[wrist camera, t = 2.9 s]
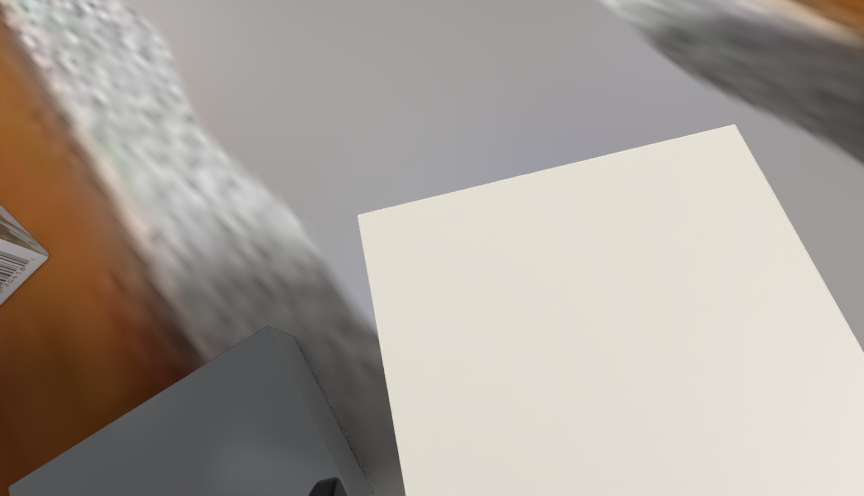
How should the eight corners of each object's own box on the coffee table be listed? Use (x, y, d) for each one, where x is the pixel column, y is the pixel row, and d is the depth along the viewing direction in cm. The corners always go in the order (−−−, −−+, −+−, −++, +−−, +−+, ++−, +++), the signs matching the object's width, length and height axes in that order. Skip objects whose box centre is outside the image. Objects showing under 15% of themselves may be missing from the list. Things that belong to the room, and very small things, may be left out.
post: (606, 457, 16) (992, 582, 4) (470, 488, 16) (441, 703, 4) (562, 322, 18) (734, 124, 6) (440, 351, 18) (357, 214, 6)
